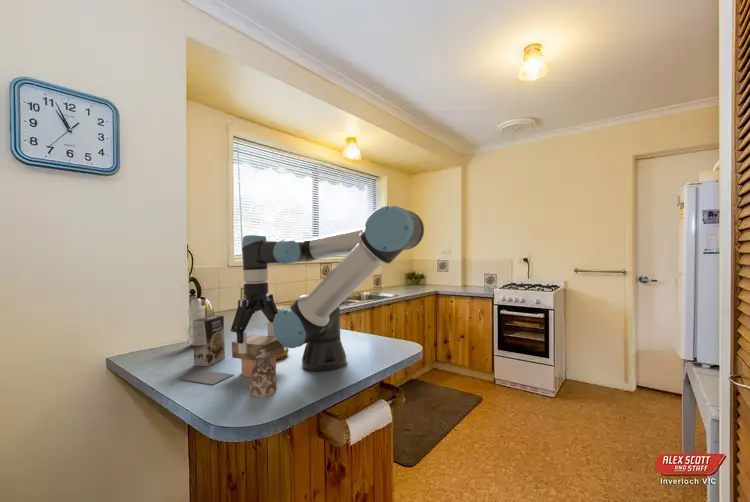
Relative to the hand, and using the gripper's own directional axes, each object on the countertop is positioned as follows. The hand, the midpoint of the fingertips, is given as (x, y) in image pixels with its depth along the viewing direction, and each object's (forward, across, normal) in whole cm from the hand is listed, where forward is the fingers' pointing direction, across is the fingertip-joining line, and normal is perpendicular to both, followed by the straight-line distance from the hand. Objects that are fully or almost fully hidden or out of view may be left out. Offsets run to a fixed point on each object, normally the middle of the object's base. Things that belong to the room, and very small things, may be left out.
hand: (258, 346), depth 109 cm
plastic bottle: (+8, -18, -49) cm, 53 cm away
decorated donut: (+9, -14, -6) cm, 17 cm away
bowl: (+8, 0, 0) cm, 8 cm away
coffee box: (+8, -3, -25) cm, 27 cm away
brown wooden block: (+3, 0, 0) cm, 3 cm away
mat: (+8, +9, -13) cm, 18 cm away
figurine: (+8, +12, +12) cm, 19 cm away
